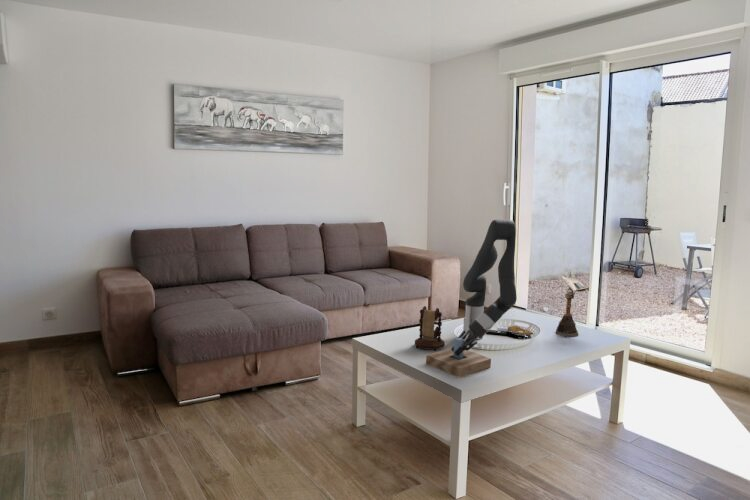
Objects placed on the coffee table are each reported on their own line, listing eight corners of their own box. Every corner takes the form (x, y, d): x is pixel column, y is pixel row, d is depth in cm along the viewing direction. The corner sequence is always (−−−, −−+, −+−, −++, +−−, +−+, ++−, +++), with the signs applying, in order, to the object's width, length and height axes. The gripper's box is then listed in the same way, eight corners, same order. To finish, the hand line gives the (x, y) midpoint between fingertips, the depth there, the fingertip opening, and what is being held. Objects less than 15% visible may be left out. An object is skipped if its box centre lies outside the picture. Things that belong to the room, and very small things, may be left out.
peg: (451, 360, 230) (451, 339, 229) (457, 358, 233) (458, 337, 232) (458, 363, 227) (459, 341, 225) (465, 361, 230) (466, 339, 228)
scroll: (409, 348, 252) (410, 308, 249) (421, 340, 265) (422, 302, 262) (438, 353, 245) (439, 312, 243) (449, 345, 258) (450, 305, 256)
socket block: (425, 363, 232) (426, 355, 231) (456, 354, 244) (457, 346, 244) (459, 377, 216) (459, 368, 216) (490, 367, 229) (490, 358, 228)
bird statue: (592, 336, 276) (597, 271, 271) (576, 340, 269) (580, 273, 265) (567, 328, 290) (571, 267, 285) (551, 331, 284) (555, 268, 279)
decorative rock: (500, 333, 282) (519, 342, 269) (500, 326, 281) (519, 334, 268) (516, 329, 287) (536, 338, 274) (516, 322, 286) (536, 330, 273)
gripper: (470, 315, 235) (444, 342, 235) (481, 323, 221) (453, 352, 221) (481, 326, 237) (455, 352, 237) (493, 335, 223) (464, 363, 223)
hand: (454, 352), depth 229 cm, fingers closed on peg, 4 cm apart
